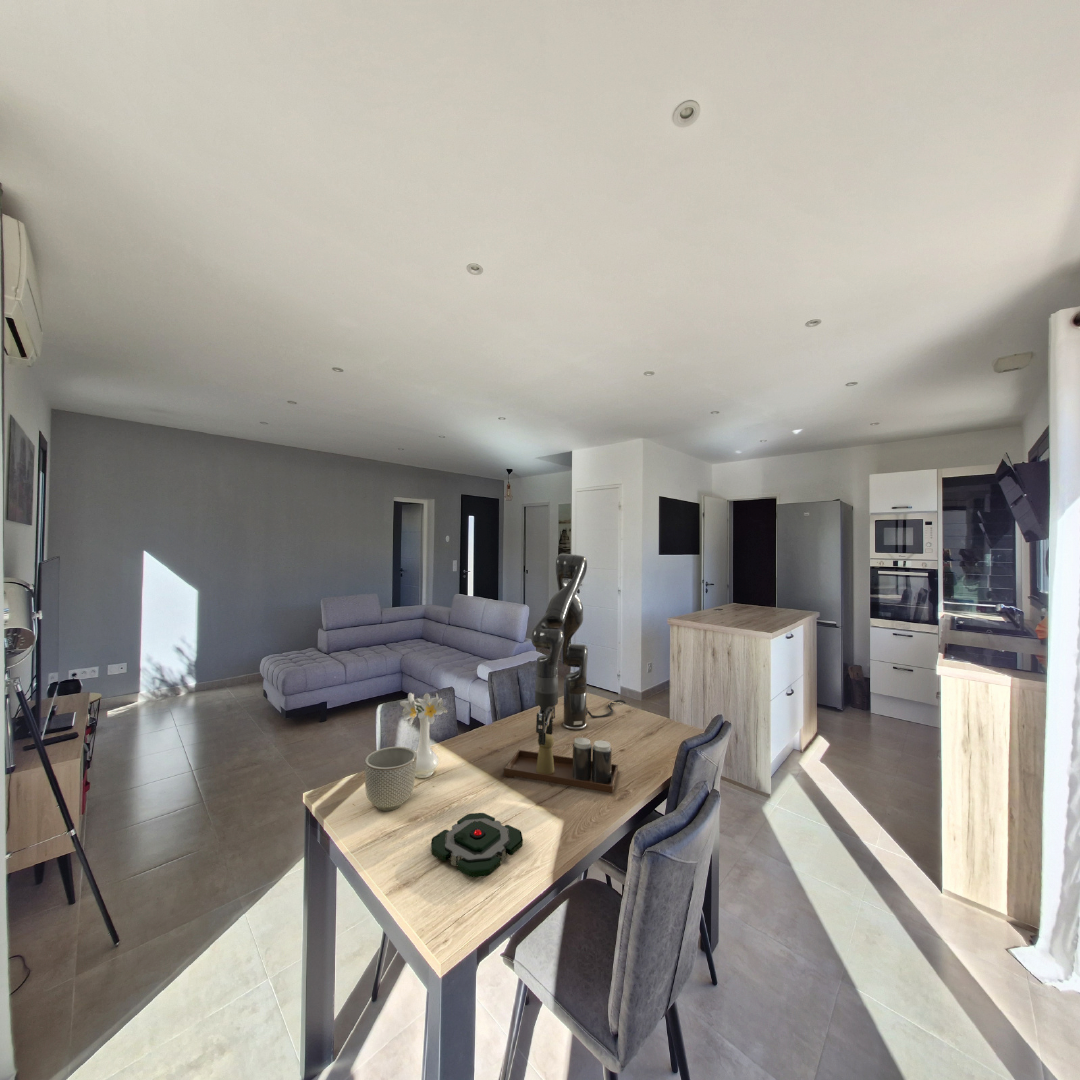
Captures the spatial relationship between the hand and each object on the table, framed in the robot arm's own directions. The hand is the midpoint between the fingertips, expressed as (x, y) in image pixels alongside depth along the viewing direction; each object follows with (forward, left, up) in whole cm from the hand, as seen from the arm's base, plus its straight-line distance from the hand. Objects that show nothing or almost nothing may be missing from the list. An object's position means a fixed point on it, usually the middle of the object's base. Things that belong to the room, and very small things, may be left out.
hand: (545, 738), depth 147 cm
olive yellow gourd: (0, 0, -10) cm, 10 cm away
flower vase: (+14, -37, -11) cm, 41 cm away
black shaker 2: (0, +18, -10) cm, 21 cm away
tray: (0, +6, -10) cm, 12 cm away
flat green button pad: (+42, -5, -11) cm, 44 cm away
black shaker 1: (0, +12, -10) cm, 16 cm away
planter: (+32, -36, -11) cm, 49 cm away
